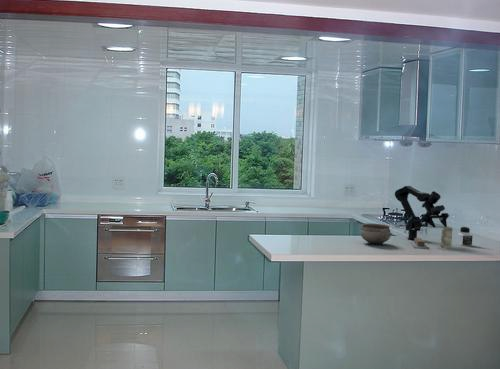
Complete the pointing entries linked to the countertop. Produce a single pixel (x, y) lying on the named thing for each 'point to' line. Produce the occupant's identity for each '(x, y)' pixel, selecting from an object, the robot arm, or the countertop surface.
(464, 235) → the medicine bottle
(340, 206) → the countertop surface
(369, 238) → the cooking pot
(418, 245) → the flat rectangular plate
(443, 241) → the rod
